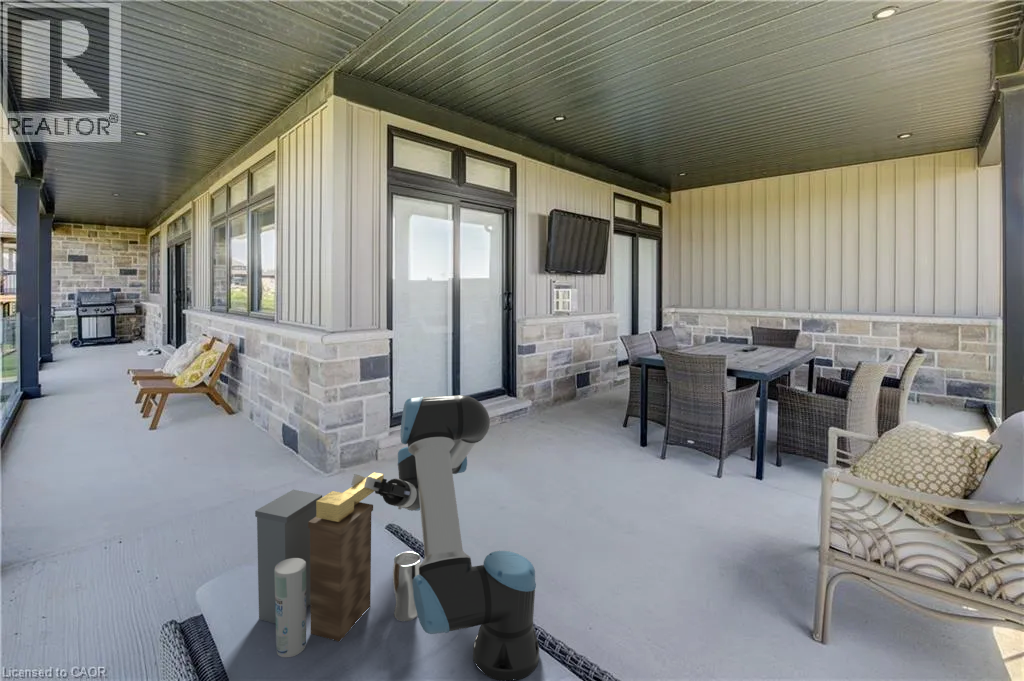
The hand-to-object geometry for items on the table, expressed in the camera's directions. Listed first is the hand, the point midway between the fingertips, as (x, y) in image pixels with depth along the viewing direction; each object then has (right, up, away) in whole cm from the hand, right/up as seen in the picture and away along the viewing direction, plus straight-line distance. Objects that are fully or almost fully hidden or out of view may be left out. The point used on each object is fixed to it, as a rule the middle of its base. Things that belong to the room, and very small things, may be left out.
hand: (360, 480), depth 127 cm
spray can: (-12, -35, -13) cm, 39 cm away
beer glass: (+12, -34, 0) cm, 36 cm away
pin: (-1, -4, -2) cm, 5 cm away
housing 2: (-4, -34, -3) cm, 34 cm away
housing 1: (-18, -32, +1) cm, 37 cm away
